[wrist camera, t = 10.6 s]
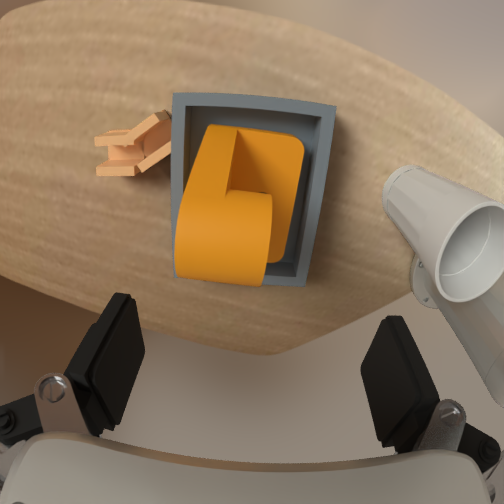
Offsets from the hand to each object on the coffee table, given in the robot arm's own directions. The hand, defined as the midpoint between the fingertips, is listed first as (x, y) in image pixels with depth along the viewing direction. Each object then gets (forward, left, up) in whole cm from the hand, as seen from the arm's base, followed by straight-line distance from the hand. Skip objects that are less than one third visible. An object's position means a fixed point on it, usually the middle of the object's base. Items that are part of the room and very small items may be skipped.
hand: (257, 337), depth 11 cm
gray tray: (+1, 0, -18) cm, 18 cm away
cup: (-15, -1, -18) cm, 24 cm away
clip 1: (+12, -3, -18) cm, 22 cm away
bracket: (+1, 0, -17) cm, 17 cm away
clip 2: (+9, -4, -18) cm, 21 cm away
